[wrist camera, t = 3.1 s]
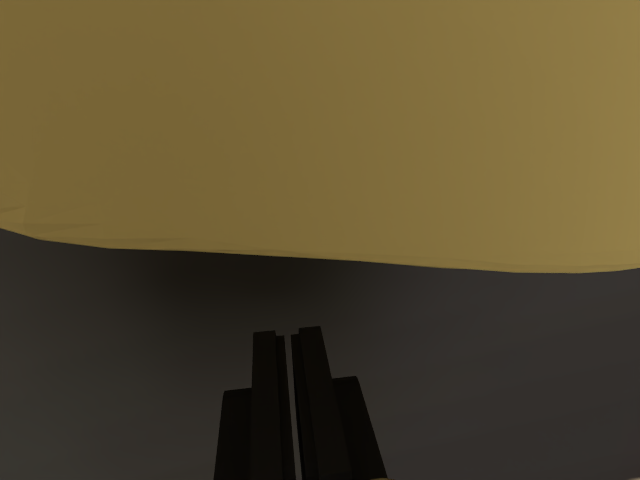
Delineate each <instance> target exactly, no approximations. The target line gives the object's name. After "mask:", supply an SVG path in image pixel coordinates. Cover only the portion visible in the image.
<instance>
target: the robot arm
mask: <svg viewBox="0 0 640 480" xmlns="http://www.w3.org/2000/svg"><path fill="white" fill-rule="evenodd" d="M291 344H292V360H293V375H294V390H295V406H296V420H297V431H298V441H299V452H300V462H301V472H302V480H393V479H388V478H387V474H386V471H385V468H384V464H383V461H382V458H381V454H380V451H379V448H378V444H377V441H376V438H375V434H374V431H373V428H372V424H371V421H370V418H369V414H368V411H367V408H366V404H365V401H364V398H363V394H362V391H361V388H360V384H359V381H358V379H357V377H356V376H351V377H343V378H334V379H332V377H331V373H330V368H329V364H328V359H327V355H326V350H325V345H324V341H323V336H322V332H321V328H320V326H315V327H305V328H299V334H294V335H291ZM214 480H296V476H295V463H294V451H293V439H292V426H291V414H290V402H289V390H288V377H287V365H286V353H285V341H284V336H276V333H275V331H265V332H255V333H254V334H253V365H252V388H246V389H237V390H228V391H225V392H224V395H223V401H222V410H221V419H220V428H219V437H218V446H217V455H216V464H215V472H214Z"/></svg>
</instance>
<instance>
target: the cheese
mask: <svg viewBox="0 0 640 480" xmlns="http://www.w3.org/2000/svg"><path fill="white" fill-rule="evenodd" d="M0 228H2V229H5V230H9V231H12V232H16V233H19V234H23V235H27V236H30V237H32V238H35V239H39V240H47V241H55V242H63V243H71V244H79V245H87V246H94V247H102V248H113V249H143V250H173V251H199V252H216V253H233V254H250V255H267V256H284V257H301V258H318V259H336V260H353V261H366V262H378V263H390V264H401V265H413V266H425V267H436V268H457V269H477V270H491V271H504V272H527V273H587V272H605V271H619V270H626V269H633V268H640V0H0Z"/></svg>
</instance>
